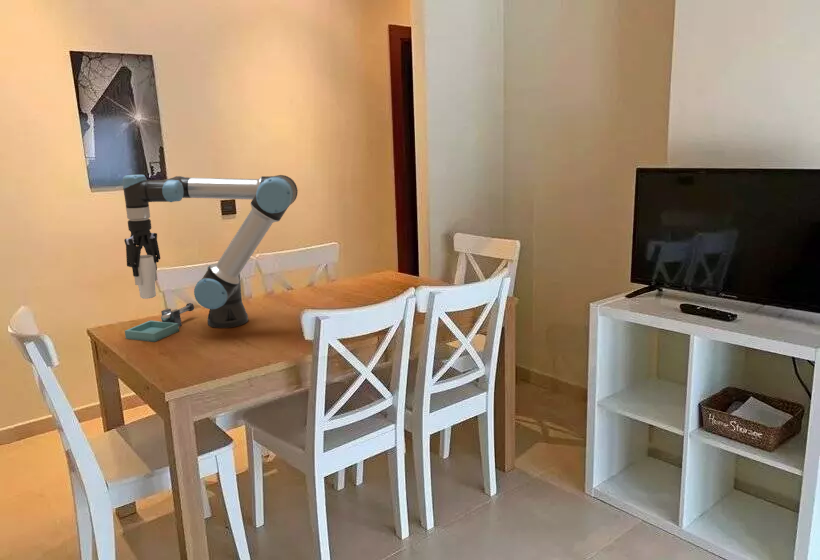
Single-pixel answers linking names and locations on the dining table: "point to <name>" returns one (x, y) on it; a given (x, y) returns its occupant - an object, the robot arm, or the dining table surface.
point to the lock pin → (187, 308)
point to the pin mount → (172, 316)
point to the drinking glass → (147, 277)
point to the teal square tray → (151, 331)
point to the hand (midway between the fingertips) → (146, 282)
